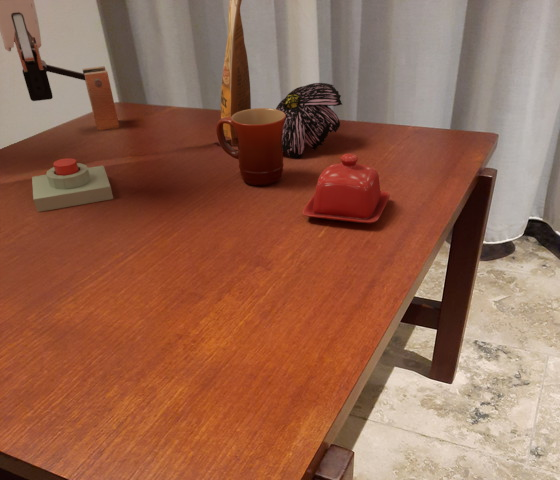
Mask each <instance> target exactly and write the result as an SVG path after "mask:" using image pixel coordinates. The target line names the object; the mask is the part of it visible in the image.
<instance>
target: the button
mask: <svg viewBox="0 0 560 480" xmlns="http://www.w3.org/2000/svg"><path fill="white" fill-rule="evenodd" d="M53 167H54V168H55V172H56V175H61V176H66V175H72V174H74V173H77V172H78V171H79V169H78V166H77V160H76V159H75V158H72V157H66V158H60V159H58V160H55V161H54V162H53Z"/></svg>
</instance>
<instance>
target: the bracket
mask: <svg viewBox="0 0 560 480" xmlns="http://www.w3.org/2000/svg"><path fill="white" fill-rule="evenodd" d="M81 69H82V73H83V74H84V76H85V80H86V81H85V80H84V82H85V86H86V90H87V95H88V98H89V103H90V107H91V111H92V115H93V120H94V123H95V126H96V129H97V131H98V132H99V131H106V130H113V129H120V123H119V120H118V119H119V118H118V115H117V109H116V105H115V101H114V100H115V99H114V96H113V90H112V87H111V81H110V78H109V72H108V70H106V67H105V66H104V65H103V66H94V67H85V68H81ZM90 71H93V72H90Z"/></svg>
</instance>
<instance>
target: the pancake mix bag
mask: <svg viewBox="0 0 560 480" xmlns="http://www.w3.org/2000/svg"><path fill="white" fill-rule="evenodd" d="M228 3H229V4H228V5H229V8H228V35H227V39H226V40H227V41H226V47H225V54H224V62H223V70H222V78H221V88H220V89H221V90H220V119H222V118H224V117H231V116H232V115H233V114H235V113H237V112H239V111H243V110H247V109H252V99H251V98H252V97H251V96H252V93H251V79H250V70H249V69H250V68H249V60H248V54H247V48H246V43H245V35H244V34H245V33H244V26H243V22H242V15H241V5H242V0H228ZM223 130H224V135H225V138H226V137H227V138H230V139H226V141H227V143H228V145H231V147H233V146H238V140H237V135H236V132H235V129H234V128H233V127H232V126H231V125H229V124H226V123H224V124H223Z"/></svg>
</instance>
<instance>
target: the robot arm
mask: <svg viewBox="0 0 560 480" xmlns="http://www.w3.org/2000/svg"><path fill="white" fill-rule="evenodd" d="M0 35H1V39H2V43H3V47H4V49H5V50H6V51H7V52H12V48H14V47H16V52H17V53H18V57H19V61H20V64H21V67H22V75H23V79H24V81H25V86H26V89H27V92H28V95H29V99H30V100H31V101H32V102H38V101H48V100H52V99H53V97H54V96H53V92H52V88H51V84H50V81H49V77H48V74H47V73H46V69H45V67H43V64H42V60H43V59H42V57H41V53H40V50H39V49H40V48H41V47H42V37H41V30H40V23H39V18H38V13H37V9H36V5H35V0H0Z"/></svg>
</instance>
